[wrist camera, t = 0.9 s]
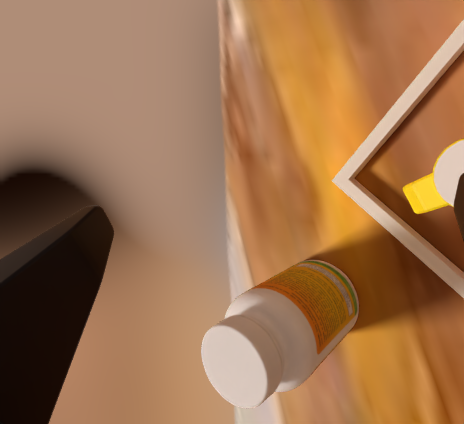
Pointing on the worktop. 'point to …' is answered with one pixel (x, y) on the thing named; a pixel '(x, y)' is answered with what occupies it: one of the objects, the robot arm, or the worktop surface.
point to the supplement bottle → (279, 332)
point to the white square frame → (396, 115)
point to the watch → (438, 181)
